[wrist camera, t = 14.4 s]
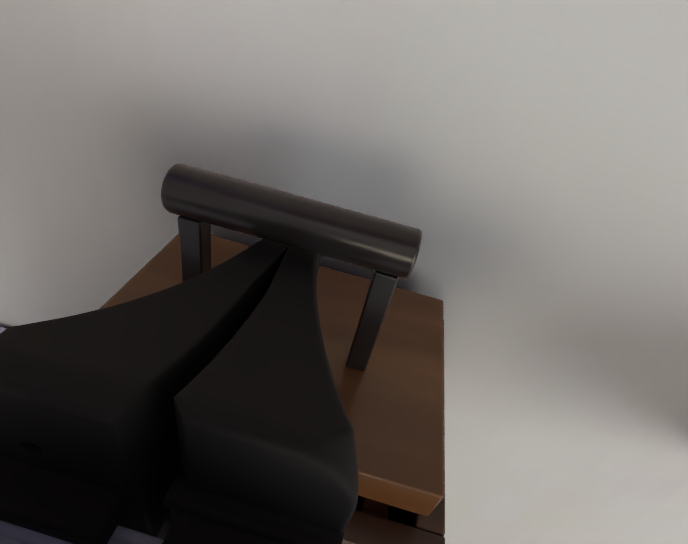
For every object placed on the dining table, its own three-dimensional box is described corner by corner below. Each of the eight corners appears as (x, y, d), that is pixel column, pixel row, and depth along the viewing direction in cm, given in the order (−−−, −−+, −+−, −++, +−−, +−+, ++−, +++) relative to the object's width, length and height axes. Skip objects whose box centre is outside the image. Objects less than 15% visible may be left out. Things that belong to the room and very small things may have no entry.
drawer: (176, 99, 13) (-52, 199, 7) (498, 185, 12) (548, 371, 6) (196, 407, 23) (114, 548, 17) (368, 458, 23) (343, 622, 17)
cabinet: (184, 244, 17) (-3, 433, 10) (444, 318, 17) (445, 572, 9) (195, 416, 25) (98, 587, 18) (370, 468, 25) (340, 666, 18)
